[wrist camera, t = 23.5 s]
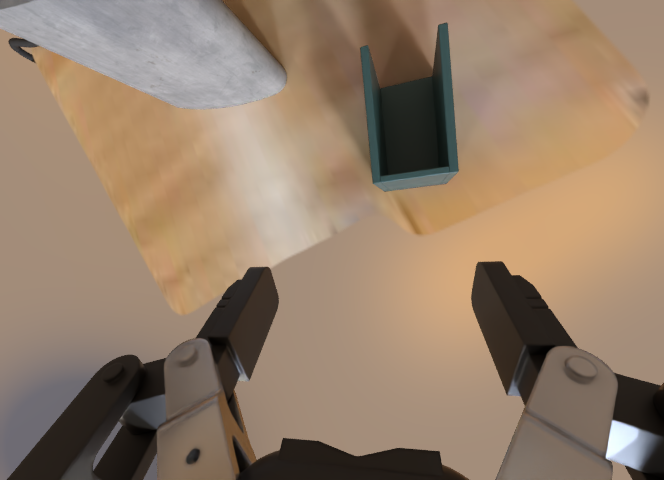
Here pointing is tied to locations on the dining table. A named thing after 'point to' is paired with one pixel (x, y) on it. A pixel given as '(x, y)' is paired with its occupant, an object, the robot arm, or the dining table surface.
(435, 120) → the teal open box
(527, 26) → the dining table surface
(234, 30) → the hip flask
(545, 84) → the dining table surface
